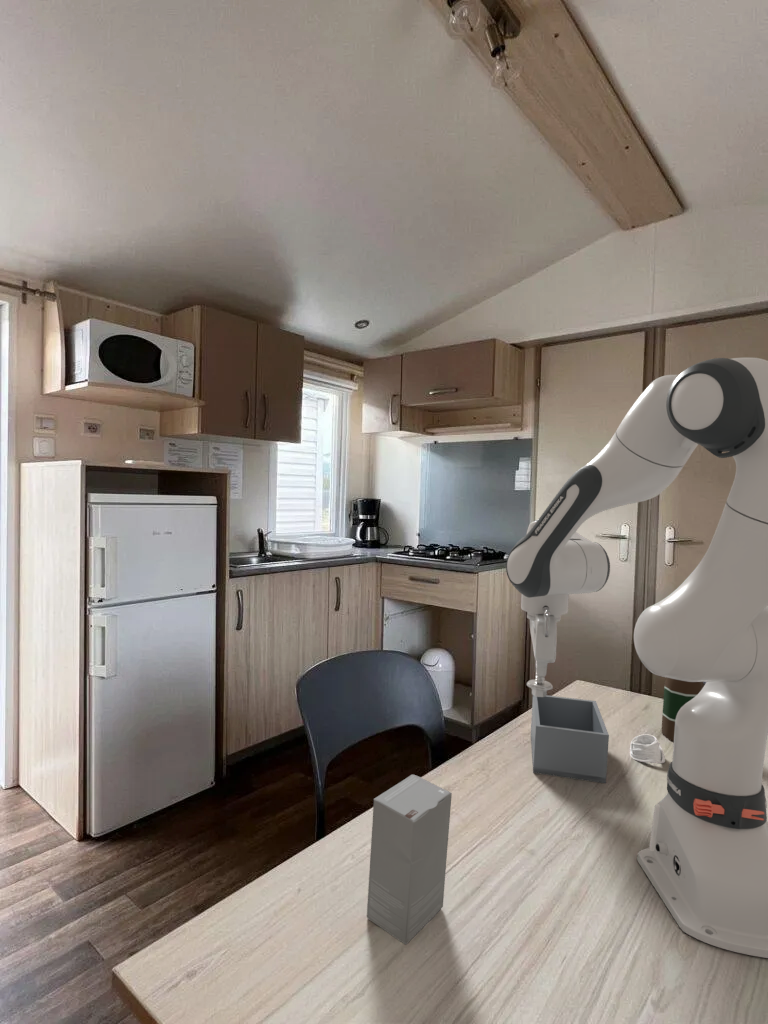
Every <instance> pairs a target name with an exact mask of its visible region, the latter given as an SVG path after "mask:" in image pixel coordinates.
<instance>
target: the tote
mask: <svg viewBox="0 0 768 1024" xmlns="http://www.w3.org/2000/svg"><path fill="white" fill-rule="evenodd" d="M531 706H532V707H531V718H530V719H531V721H530V723H531V724H530V745H531V747H530V748H531V759H532V773H533V774H539V775H547V776H552V777H560V778H567V779H574V780H580V781H587V782H588V781H589V782H595V783H601V784H606V783H607V774H608V773H607V771H608V756H609V741H610V740H609V739H610V735H609V732H608V729H607V727H606V724H605V722H604V719H603V717H602V714H601V711H600V709H599V705H598V702H597V701H596V700H591V699H581V698H573V697H564V696H557V695H556V696H555V695H548V694H547V696H545V697H536V696H534V695H533V694H532V705H531Z"/></svg>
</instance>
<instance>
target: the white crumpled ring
mask: <svg viewBox="0 0 768 1024" xmlns="http://www.w3.org/2000/svg"><path fill="white" fill-rule="evenodd" d="M660 744H661V743H660V741H659V740H658V738H657V737H656V736H654V735H652V734H648V733H644V734H640V735H635V736H634V737H632V740H631V741H630V746H629V755H630V758H632V759H633V760H634V761H637V762H642V763H649V764H657V763H658V764H664V763H665V762H666V755H665V753H664V750H663V748H662V746H661V745H660Z"/></svg>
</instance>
